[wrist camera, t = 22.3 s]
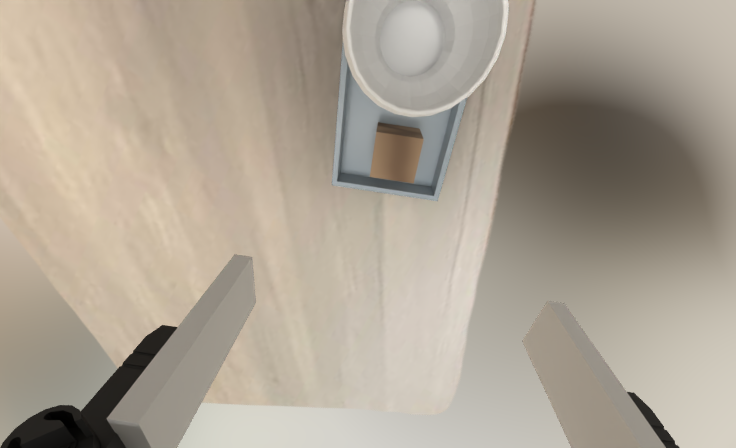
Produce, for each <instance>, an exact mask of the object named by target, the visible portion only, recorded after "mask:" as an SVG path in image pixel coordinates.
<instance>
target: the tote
mask: <svg viewBox="0 0 736 448" xmlns="http://www.w3.org/2000/svg"><path fill="white" fill-rule="evenodd" d="M346 1H347V0H346ZM466 100H467V98H465V99H464V100H462V101H461V102H459V103H458V104H456V105H455V106H453V107H452V108H450V109H448V110H445V111H442V112H440V113H437V114H434V115H431V116H422V117H408V116H403V115H397V114H393V113H392V112H390V111H388V110H386V109H384V108H382V107H380V106H378V105H377V104H375V103H374V102H373V101H372V100H371V99H370V98H369V97H368V96H367V95H366V94H364V93H363V91H362V90H361V88H360V86H359V85H358V83H357V82H356V80H355V79H354V77H353V76H352V73H351V70H350V68H349V65H348V62H347V59H346V56H345V51H344V42H343V46H342V59H341V72H340V85H339V98H338V111H337V124H336V138H335V151H334V164H333V177H332V185H334V186H341V187H347V188H354V189H361V190H367V191H374V192H380V193H387V194H394V195H400V196H407V197H413V198H420V199H427V200H433V201H438V198H439V195H440V191H441V188H442V184H443V181H444V177H445V174H446V170H447V167H448V163H449V160H450V156H451V153H452V149H453V145H454V142H455V138H456V135H457V131H458V128H459V124H460V121H461V117H462V114H463V110H464V107H465V103H466ZM378 122H380V123H386V124H393V125H399V126H406V127H412V128H419V129H420V131H421V133H422V136H423V138H424V141H423V145H422V149H421V154H420V158H419V162H418V167H417V171H416V175H415V180H414V183H407V182H400V181H394V180H387V179H381V178H374V177H370V171H371V164H372V158H373V151H374V144H375V137H376V131H377V125H378Z"/></svg>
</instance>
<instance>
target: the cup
mask: <svg viewBox="0 0 736 448" xmlns="http://www.w3.org/2000/svg"><path fill="white" fill-rule="evenodd" d="M508 13H509V4H508V0H347V1H346V4H345V8H344V18H343V28H342V34H343V42H344V51H345V56H346V59H347V62H348V65H349V68H350V70H351V73H352V76H353V77H354V79H355V80H356V82H357V83H358V85H359V86H360V88H361V90H362V91H363V93H364V94H366V95H367V96H368V97H369V98H370V99H371V100H372V101H373V102H374V103H375V104H377V105H378V106H380V107H382V108H384V109H386V110H388V111H390V112H392V113H393V114H397V115H403V116H408V117H422V116H431V115H434V114H437V113H440V112H442V111H445V110H448V109H450V108H452V107H453V106H455V105H456V104H458V103H459V102H461V101H462V100H464V99H465V98H467V97H468V96H470V95H471V94H472V93H473V92H474V91H475V89H476V88H477V87H478V86H479V85H480V84H481V83H482V82H483V81H484V80H485V79H486V77H487V75H488V74H489V72H490V70H491V69H492V67H493V65H494V64H495V62H496V60H497V59H498V56H499V53H500V50H501V47H502V45H503V42H504V39H505V36H506V30H507V21H508Z"/></svg>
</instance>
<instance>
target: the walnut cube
mask: <svg viewBox="0 0 736 448" xmlns="http://www.w3.org/2000/svg"><path fill="white" fill-rule="evenodd" d="M423 141H424V138H423V136H422V133H421V131H420V129H419V128H412V127H406V126H399V125H393V124H386V123H380V122H378V125H377V131H376V137H375V144H374V151H373V158H372V164H371V171H370V177H374V178H381V179H387V180H394V181H400V182H407V183H414V180H415V175H416V171H417V167H418V162H419V158H420V154H421V149H422V145H423Z"/></svg>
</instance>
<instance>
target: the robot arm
mask: <svg viewBox="0 0 736 448" xmlns="http://www.w3.org/2000/svg"><path fill="white" fill-rule="evenodd" d="M255 303H256V296H255V284H254V273H253V261H252V257H249V256H242V255H234V256H233V257H232V259H231V260H230V261H229V262H228V264H227V265H226V266H225V267H224V269H223V270H222V271H221V273H220V274H219V275H218V276H217V278H216V279H215V280H214V282H213V283H212V284H211V285H210V287H209V288H208V289H207V291H206V292H205V293H204V294H203V296H202V297H201V298H200V300H199V301H198V302H197V303H196V305H195V306H194V307H193V308H192V310H191V311H190V312H189V314H188V315H187V316H186V317H185V319H184V320H183V321H182V323H181V324H180V325H179V326H178V327H172V326H165V325H162V326H160V327H159V328H158V329H156V330H155V331H153V332H152V333H150V334H149V335H147V336H146V337H145V338H144V339H143V340H142V342H141V343H140V344H139V345H138V346H137V347H136V349H135V350H134V351H133V354H130V355H129V357H128V358H127V359H126V360H125V361H124V362H123V365H122V366H120V367H119V368H118V369H117V370H116V372H115V373H114V374H113V375H112V376H111V377H110V378H109V380H108V381H107V382H106V383H105V384H104V385H103V387H102V388H101V389H100V390H99V391H98V392H97V393H96V395H95V396H94V397H93V398H92V399H91V401H90V402H89V403H88V404H87V405H86V406H85V407H84V409H83V410H82V411H81V412H80V410H79V409H77V408H75V407H73V406H69V405H59V406H56V407H52V408H49V409H45V410H43V411H42V412H40V413H38V414H36V415H34V416H32V417H30V418H29V419H27V420H26V421H25V422H23V423H22V424H21V425H19V426H18V427H17V428H16V429H14V431H13V432H12V433H11V434H10V435H9V436H8V437H7V439H6V440H5V441H4V442H3V444H2V446H1V448H177V447H178V445H179V443H180V441H181V439H182V438H183V436H184V434H185V432H186V430H187V428H188V427H189V425H190V423H191V421H192V419H193V417H194V415H195V414H196V412H197V410H198V408H199V406H200V404H201V403H202V401H203V399H204V397H205V395H206V393H207V392H208V390H209V388H210V386H211V384H212V382H213V381H214V379H215V377H216V375H217V373H218V371H219V369H220V368H221V366H222V364H223V362H224V360H225V358H226V357H227V355H228V353H229V351H230V349H231V347H232V346H233V344H234V342H235V340H236V338H237V336H238V334H239V333H240V331H241V329H242V327H243V325H244V323H245V322H246V320H247V318H248V316H249V314H250V312H251V311H252V309H253V307H254V305H255ZM522 342H523V344H524V346H525V348H526V350H527V352H528V355H529V357H530V359H531V361H532V363H533V366H534V368H535V370H536V372H537V374H538V376H539V378H540V381H541V383H542V385H543V387H544V389H545V392H546V394H547V396H548V398H549V400H550V402H551V405H552V407H553V409H554V411H555V413H556V415H557V418H558V419H559V422H560V424H561V426H562V428H563V430H564V433H565V435H566V437H567V439H568V441H569V444H570V446H571V448H679V447H678V446H677V445H675V441H674V440H673V438H672V437H671V436H670V434H669V433H668V432H667V430H664V426H663V425H662V424H661V422H660V421H659V419H658V418H657V417H656V415H655V414H654V413H653V411H652V410H651V409H650V408H649V407H648V406H647V405H646V404H645V403H644V402H643V401H642V400H641V399H640V398H639V397H638V396H636V394H635V393H631V392H626V390H625V389H624V388H623V386H622V385H621V383H620V382H619V380H618V379H617V378H616V376H615V375H614V373H613V372H612V370H611V369H610V367H609V366H608V365H607V363H606V362H605V360H604V359H603V358H602V356H601V355H600V353H599V352H598V350H597V349H596V348H595V346H594V345H593V343H592V342H591V341H590V339H589V338H588V336H587V335H586V333H585V332H584V331H583V329H582V328H581V326H580V325H579V323H578V322H577V321H576V319H575V318H574V316H573V315H572V314H571V312H570V311H569V309H568V308H567V306H566V305H565V304H564V303H558V302H552V301H547V303H546V304H545V305H544V307H543V309H542V310H541V312H540V314H539V315H538V317H537V318H536V320H535V322H534V323H533V325H532V326H531V328H530V330H529V331H528V333H527V334H526V336H525V338H524V339H523V341H522Z"/></svg>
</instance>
